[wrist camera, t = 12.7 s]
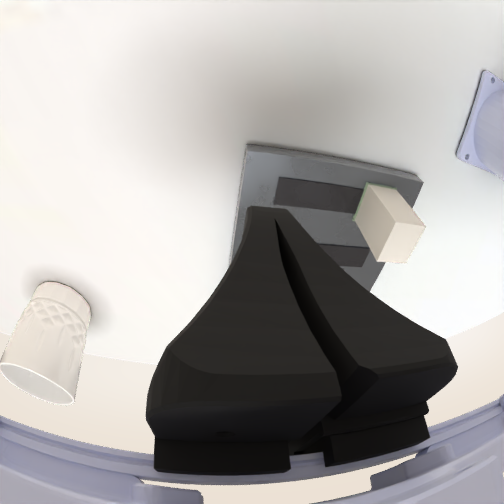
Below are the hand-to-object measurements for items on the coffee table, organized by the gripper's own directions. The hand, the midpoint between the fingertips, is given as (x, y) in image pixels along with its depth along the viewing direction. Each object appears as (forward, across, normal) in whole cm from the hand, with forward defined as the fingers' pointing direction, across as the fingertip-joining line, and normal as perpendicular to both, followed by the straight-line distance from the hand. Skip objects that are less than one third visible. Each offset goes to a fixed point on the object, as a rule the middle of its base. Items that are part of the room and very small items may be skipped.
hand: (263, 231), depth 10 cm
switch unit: (+10, -6, +8) cm, 14 cm away
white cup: (+10, +17, +18) cm, 27 cm away
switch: (+9, -10, +3) cm, 13 cm away
